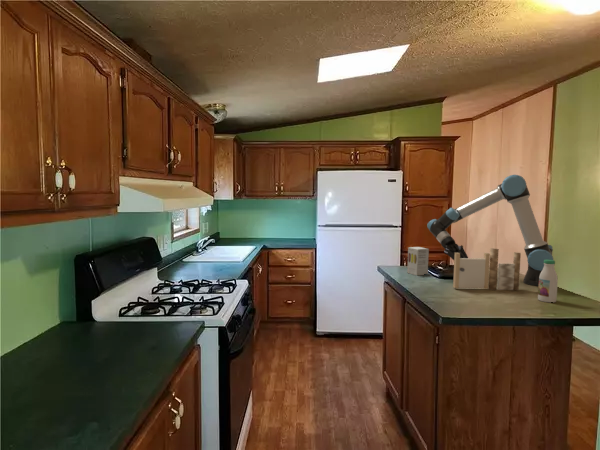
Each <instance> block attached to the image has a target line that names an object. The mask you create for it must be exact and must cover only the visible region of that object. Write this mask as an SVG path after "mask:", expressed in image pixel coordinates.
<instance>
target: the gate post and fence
mask: <svg viewBox="0 0 600 450" xmlns="http://www.w3.org/2000/svg"><path fill="white" fill-rule="evenodd" d="M489 250H490V251H489V254H490V260H489V280H488V290H491V291H497V290H499V291H501V290H503V291H507V290H508V291H519V290H520V287H519V286H520V276H521V275H520V274H521V272H520V271H521V252H513V263H499V252H500V251H499V248H490V249H489Z"/></svg>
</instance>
